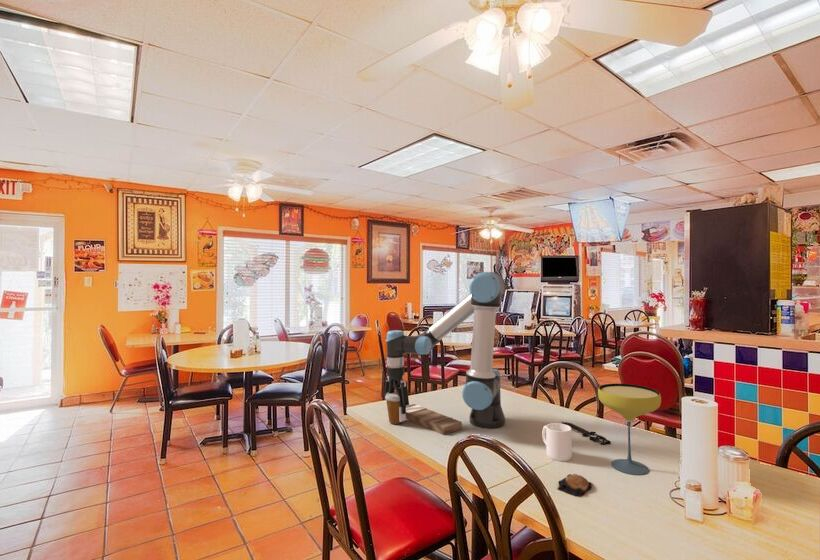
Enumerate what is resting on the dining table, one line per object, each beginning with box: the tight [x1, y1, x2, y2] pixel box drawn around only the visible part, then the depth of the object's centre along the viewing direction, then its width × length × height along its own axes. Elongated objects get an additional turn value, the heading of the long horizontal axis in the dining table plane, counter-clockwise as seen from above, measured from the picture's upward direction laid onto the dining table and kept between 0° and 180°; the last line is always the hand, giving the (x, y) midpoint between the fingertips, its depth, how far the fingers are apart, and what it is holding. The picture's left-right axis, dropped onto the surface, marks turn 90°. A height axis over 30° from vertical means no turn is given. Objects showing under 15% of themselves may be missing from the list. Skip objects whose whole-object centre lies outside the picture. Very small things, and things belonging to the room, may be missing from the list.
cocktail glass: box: [597, 383, 662, 476], centre depth 134 cm, size 18×18×25 cm
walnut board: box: [405, 403, 463, 436], centre depth 180 cm, size 32×10×3 cm, turn 37°
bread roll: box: [556, 473, 594, 498], centre depth 122 cm, size 11×8×4 cm
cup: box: [541, 422, 573, 462], centre depth 144 cm, size 8×12×10 cm
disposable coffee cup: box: [385, 390, 404, 425], centre depth 179 cm, size 10×10×12 cm
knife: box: [561, 421, 612, 446], centre depth 164 cm, size 25×6×1 cm, turn 13°
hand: (396, 418), depth 179 cm, fingers closed on disposable coffee cup, 8 cm apart
